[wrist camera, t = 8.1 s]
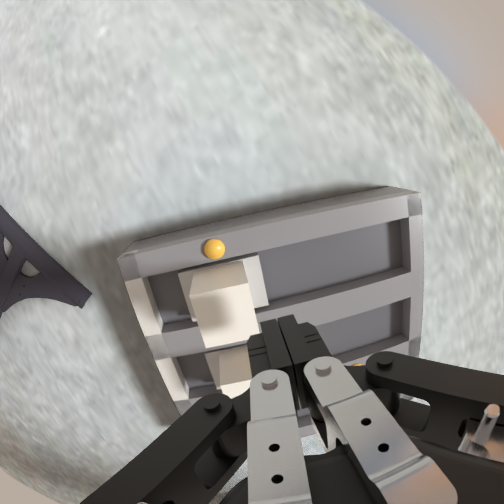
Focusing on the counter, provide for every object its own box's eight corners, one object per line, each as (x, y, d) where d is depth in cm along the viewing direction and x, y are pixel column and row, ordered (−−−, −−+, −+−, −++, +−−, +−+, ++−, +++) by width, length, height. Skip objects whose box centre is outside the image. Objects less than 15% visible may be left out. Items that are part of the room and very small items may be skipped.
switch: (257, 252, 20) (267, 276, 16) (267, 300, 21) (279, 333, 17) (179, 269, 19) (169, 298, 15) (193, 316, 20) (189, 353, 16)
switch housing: (390, 186, 23) (422, 192, 19) (394, 374, 28) (413, 400, 24) (133, 241, 22) (115, 260, 18) (203, 424, 27) (202, 458, 23)
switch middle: (274, 332, 21) (287, 369, 17) (282, 369, 22) (294, 408, 18) (204, 348, 21) (203, 387, 17) (217, 383, 22) (218, 423, 18)
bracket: (-51, 295, 22) (-65, 305, 19) (-14, 183, 19) (-32, 187, 17) (38, 381, 25) (28, 397, 23) (95, 289, 23) (83, 304, 21)
